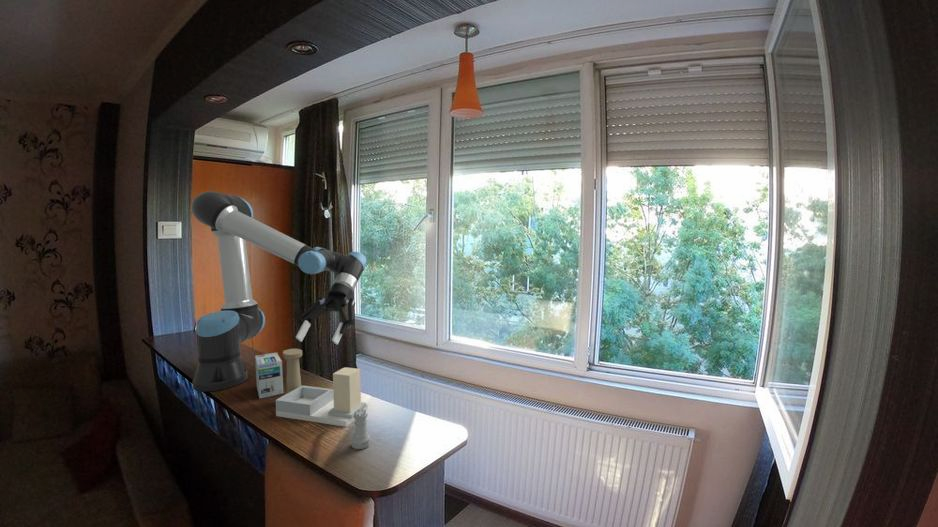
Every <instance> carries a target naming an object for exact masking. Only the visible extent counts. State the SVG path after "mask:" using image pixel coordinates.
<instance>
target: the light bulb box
mask: <svg viewBox="0 0 938 527" xmlns="http://www.w3.org/2000/svg"><path fill="white" fill-rule="evenodd" d="M278 353H279V352H272V353H271V352H270V353H264V354H258V355H255V356H254V357H255V358H254V360H255V379H256V380H255V381H256V382H255V383H256V390H257V393H258V397H259V399H264V398H269V397H274V396H277V395H282V394H284V380H283V379H284V378H283V360H282V358H281V357H280V356H279V354H278Z"/></svg>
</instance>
